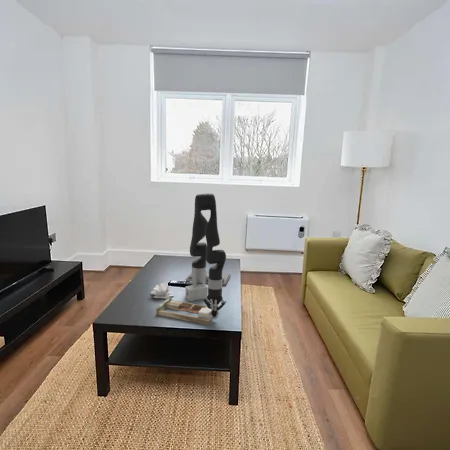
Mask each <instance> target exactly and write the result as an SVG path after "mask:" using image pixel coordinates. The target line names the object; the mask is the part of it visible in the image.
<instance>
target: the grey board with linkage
mask: <svg viewBox="0 0 450 450" xmlns="http://www.w3.org/2000/svg"><path fill="white" fill-rule="evenodd" d="M230 277H231V274H230V273H225V272H222V287H223V286H226V285H227V283H228V281H229V279H230ZM185 280H186V281H185V282H187V281H192V272H190V274H189V275H187V277H186V279H185ZM208 280H209V271H206V285H208Z"/></svg>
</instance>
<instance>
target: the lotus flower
mask: <svg viewBox="0 0 450 450" xmlns="http://www.w3.org/2000/svg"><path fill="white" fill-rule="evenodd" d="M172 292H173V291H172V286H169V285H168V284H167V283H165V282H164V281H163V282H161V283H160V284H156V285H155V287H153V290H151V292H150V293H151V294H152V295H154V296H153V298H154V299H168V298H169V297H174V296H175V294H171V293H172Z"/></svg>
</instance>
